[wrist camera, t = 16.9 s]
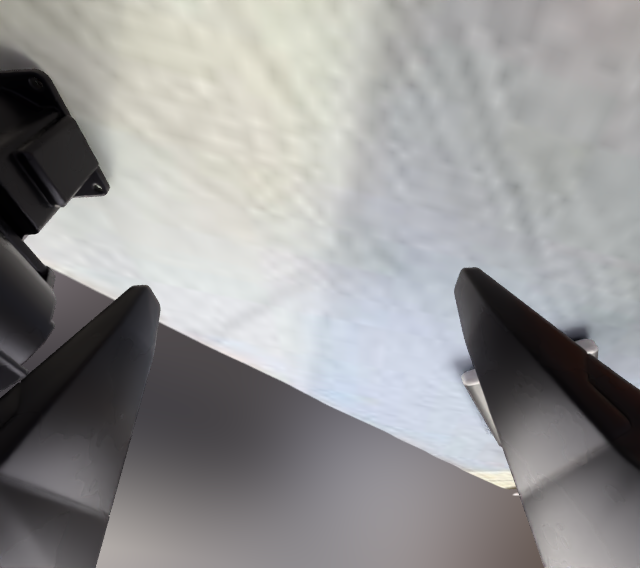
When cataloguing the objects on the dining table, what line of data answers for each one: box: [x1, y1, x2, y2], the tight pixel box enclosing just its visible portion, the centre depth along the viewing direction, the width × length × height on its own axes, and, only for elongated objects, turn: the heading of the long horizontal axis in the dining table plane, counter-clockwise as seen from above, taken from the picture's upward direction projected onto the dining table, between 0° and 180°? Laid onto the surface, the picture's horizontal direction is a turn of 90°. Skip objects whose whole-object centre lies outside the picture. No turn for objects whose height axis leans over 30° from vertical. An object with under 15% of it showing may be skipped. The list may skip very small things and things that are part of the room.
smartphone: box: [461, 339, 598, 447], centre depth 44 cm, size 13×27×2 cm, turn 30°
